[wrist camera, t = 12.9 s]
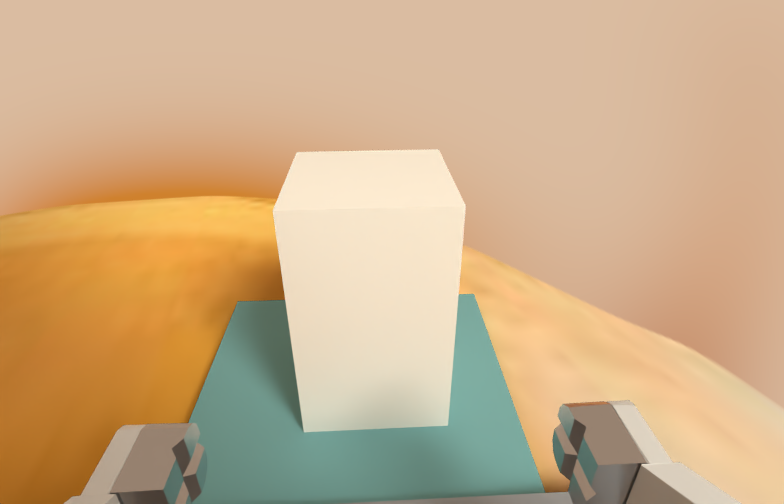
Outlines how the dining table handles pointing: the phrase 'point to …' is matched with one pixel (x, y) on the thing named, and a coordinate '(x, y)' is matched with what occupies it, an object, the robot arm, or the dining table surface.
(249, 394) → the mat
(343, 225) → the cream block
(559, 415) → the robot arm
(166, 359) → the dining table surface
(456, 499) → the deck
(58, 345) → the dining table surface
